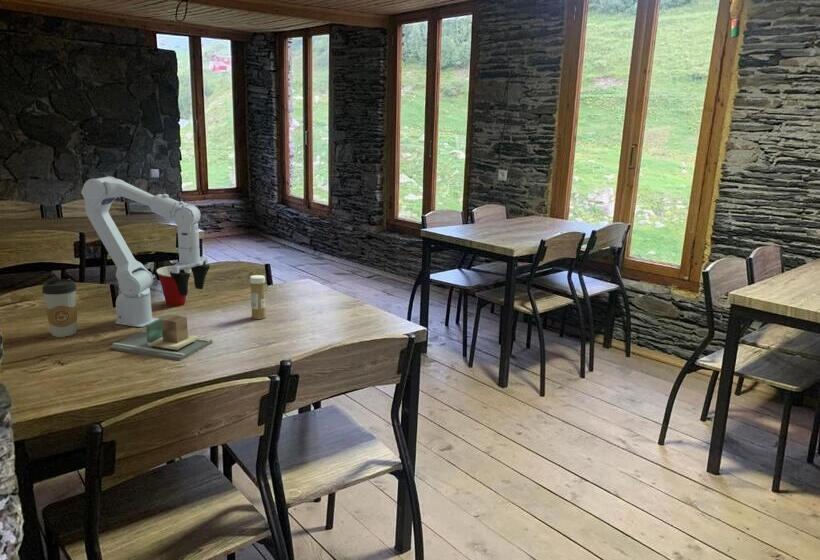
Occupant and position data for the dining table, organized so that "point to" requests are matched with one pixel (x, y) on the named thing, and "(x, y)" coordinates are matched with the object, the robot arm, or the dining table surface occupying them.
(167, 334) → the walnut block
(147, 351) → the track board
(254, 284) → the sprinkles bottle
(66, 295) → the coffee cup
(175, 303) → the plastic cup
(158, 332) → the sliding tray
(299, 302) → the dining table surface
